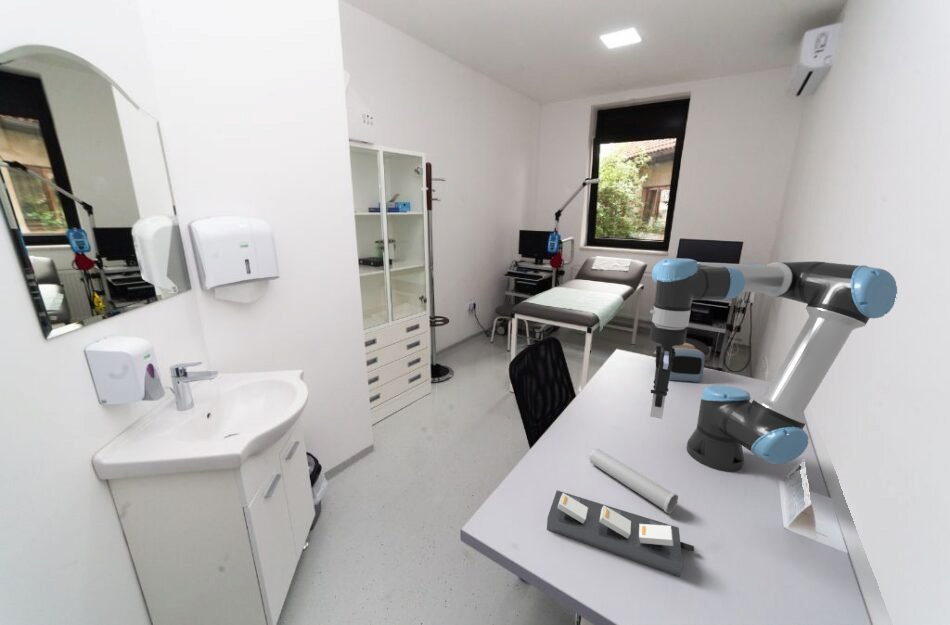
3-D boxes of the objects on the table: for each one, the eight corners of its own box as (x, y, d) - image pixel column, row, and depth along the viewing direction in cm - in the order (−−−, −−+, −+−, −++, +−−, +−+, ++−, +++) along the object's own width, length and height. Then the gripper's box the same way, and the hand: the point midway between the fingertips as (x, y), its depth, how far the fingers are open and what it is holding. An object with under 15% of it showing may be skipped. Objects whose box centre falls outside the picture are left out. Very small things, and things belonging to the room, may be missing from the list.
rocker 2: (628, 525, 84) (631, 520, 83) (627, 538, 80) (630, 533, 80) (601, 509, 86) (604, 504, 85) (599, 521, 82) (602, 517, 82)
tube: (598, 445, 113) (680, 492, 93) (593, 461, 114) (674, 512, 93) (588, 445, 110) (670, 495, 90) (583, 462, 110) (664, 515, 90)
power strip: (691, 544, 83) (694, 530, 82) (696, 583, 74) (699, 567, 73) (555, 501, 96) (556, 488, 95) (546, 529, 87) (547, 515, 86)
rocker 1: (585, 511, 88) (588, 507, 87) (583, 523, 84) (585, 519, 83) (560, 496, 90) (563, 492, 89) (557, 508, 86) (559, 503, 85)
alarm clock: (664, 380, 169) (669, 348, 165) (654, 367, 184) (658, 337, 180) (703, 383, 166) (709, 350, 162) (689, 369, 182) (694, 339, 178)
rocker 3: (672, 531, 80) (670, 525, 80) (673, 545, 76) (671, 539, 76) (640, 529, 83) (639, 523, 83) (640, 542, 79) (638, 536, 79)
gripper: (651, 317, 92) (639, 401, 98) (651, 330, 81) (638, 425, 87) (684, 320, 89) (671, 407, 95) (690, 335, 78) (674, 433, 84)
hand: (655, 416), depth 91 cm, fingers closed
